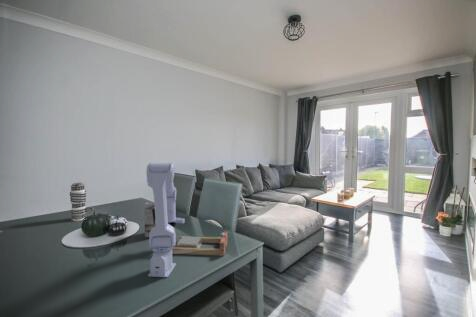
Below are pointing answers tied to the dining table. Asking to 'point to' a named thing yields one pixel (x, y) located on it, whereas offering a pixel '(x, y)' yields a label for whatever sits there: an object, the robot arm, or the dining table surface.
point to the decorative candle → (78, 201)
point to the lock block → (190, 242)
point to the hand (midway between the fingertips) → (170, 236)
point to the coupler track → (205, 251)
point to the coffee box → (149, 219)
